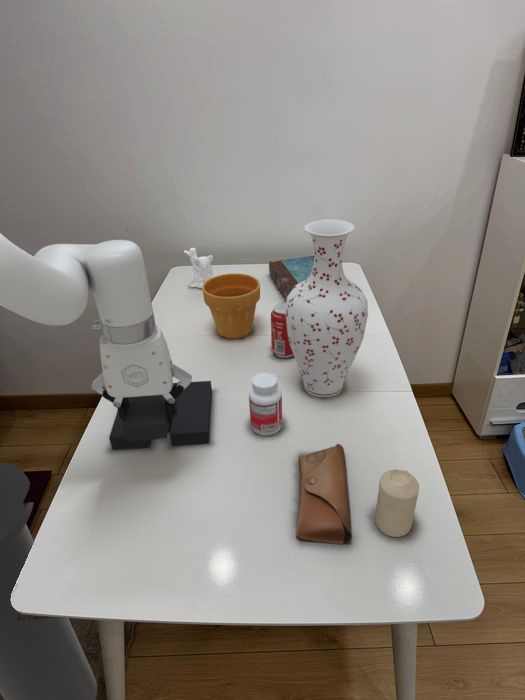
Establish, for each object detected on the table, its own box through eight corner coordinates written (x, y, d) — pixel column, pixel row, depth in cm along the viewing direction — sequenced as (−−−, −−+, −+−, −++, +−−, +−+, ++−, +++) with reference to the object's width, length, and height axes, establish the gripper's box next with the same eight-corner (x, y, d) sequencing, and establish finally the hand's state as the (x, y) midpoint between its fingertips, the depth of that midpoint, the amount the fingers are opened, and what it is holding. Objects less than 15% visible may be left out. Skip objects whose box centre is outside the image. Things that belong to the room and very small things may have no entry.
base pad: (112, 449, 90) (108, 437, 89) (127, 397, 104) (125, 385, 102) (209, 443, 91) (207, 431, 89) (212, 392, 104) (210, 380, 103)
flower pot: (198, 340, 123) (193, 294, 116) (218, 314, 134) (214, 270, 127) (252, 347, 119) (249, 300, 112) (268, 320, 130) (266, 275, 123)
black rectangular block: (126, 441, 78) (122, 427, 76) (138, 393, 88) (135, 380, 86) (167, 438, 78) (164, 424, 76) (174, 391, 88) (172, 377, 87)
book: (269, 276, 155) (268, 261, 152) (321, 269, 158) (321, 254, 156) (289, 307, 136) (289, 291, 134) (348, 298, 140) (349, 283, 137)
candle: (367, 519, 75) (372, 473, 70) (391, 502, 78) (398, 456, 73) (394, 544, 71) (403, 497, 66) (419, 524, 74) (429, 478, 69)
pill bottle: (265, 411, 98) (263, 366, 92) (288, 424, 95) (288, 378, 89) (244, 427, 94) (240, 381, 89) (267, 441, 91) (265, 394, 85)
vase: (298, 415, 97) (299, 247, 78) (277, 370, 110) (274, 218, 92) (373, 401, 100) (391, 236, 81) (344, 359, 113) (354, 209, 94)
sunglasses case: (295, 453, 87) (315, 429, 84) (328, 468, 89) (349, 445, 85) (294, 540, 72) (318, 515, 69) (334, 557, 73) (360, 533, 70)
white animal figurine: (185, 290, 148) (180, 252, 142) (191, 280, 154) (186, 244, 148) (212, 290, 147) (209, 253, 141) (217, 281, 153) (214, 244, 147)
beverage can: (303, 351, 117) (303, 306, 110) (286, 362, 113) (286, 317, 106) (283, 342, 120) (282, 299, 114) (266, 353, 117) (264, 308, 110)
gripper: (62, 343, 68) (92, 438, 78) (186, 334, 69) (200, 430, 78) (77, 317, 74) (103, 408, 84) (190, 310, 75) (203, 401, 84)
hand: (150, 418), depth 81 cm, fingers closed on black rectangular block, 6 cm apart
